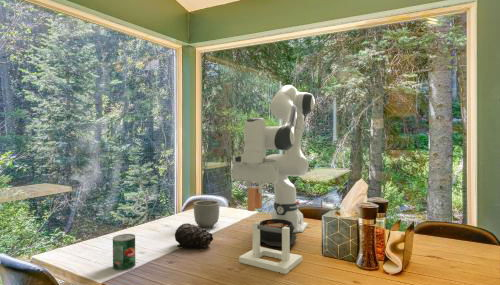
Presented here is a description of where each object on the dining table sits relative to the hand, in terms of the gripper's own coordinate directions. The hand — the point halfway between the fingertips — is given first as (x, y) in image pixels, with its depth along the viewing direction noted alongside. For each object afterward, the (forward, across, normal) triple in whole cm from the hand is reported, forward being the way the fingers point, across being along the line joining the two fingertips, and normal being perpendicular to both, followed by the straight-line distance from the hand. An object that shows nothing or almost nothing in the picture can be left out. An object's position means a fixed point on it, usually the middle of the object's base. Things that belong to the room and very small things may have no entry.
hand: (255, 192), depth 125 cm
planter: (+26, +45, -22) cm, 56 cm away
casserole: (+26, +3, -22) cm, 34 cm away
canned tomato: (+26, +36, +34) cm, 56 cm away
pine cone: (+26, +29, +4) cm, 39 cm away
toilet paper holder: (+26, -7, 0) cm, 27 cm away
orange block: (+7, 0, 0) cm, 7 cm away
